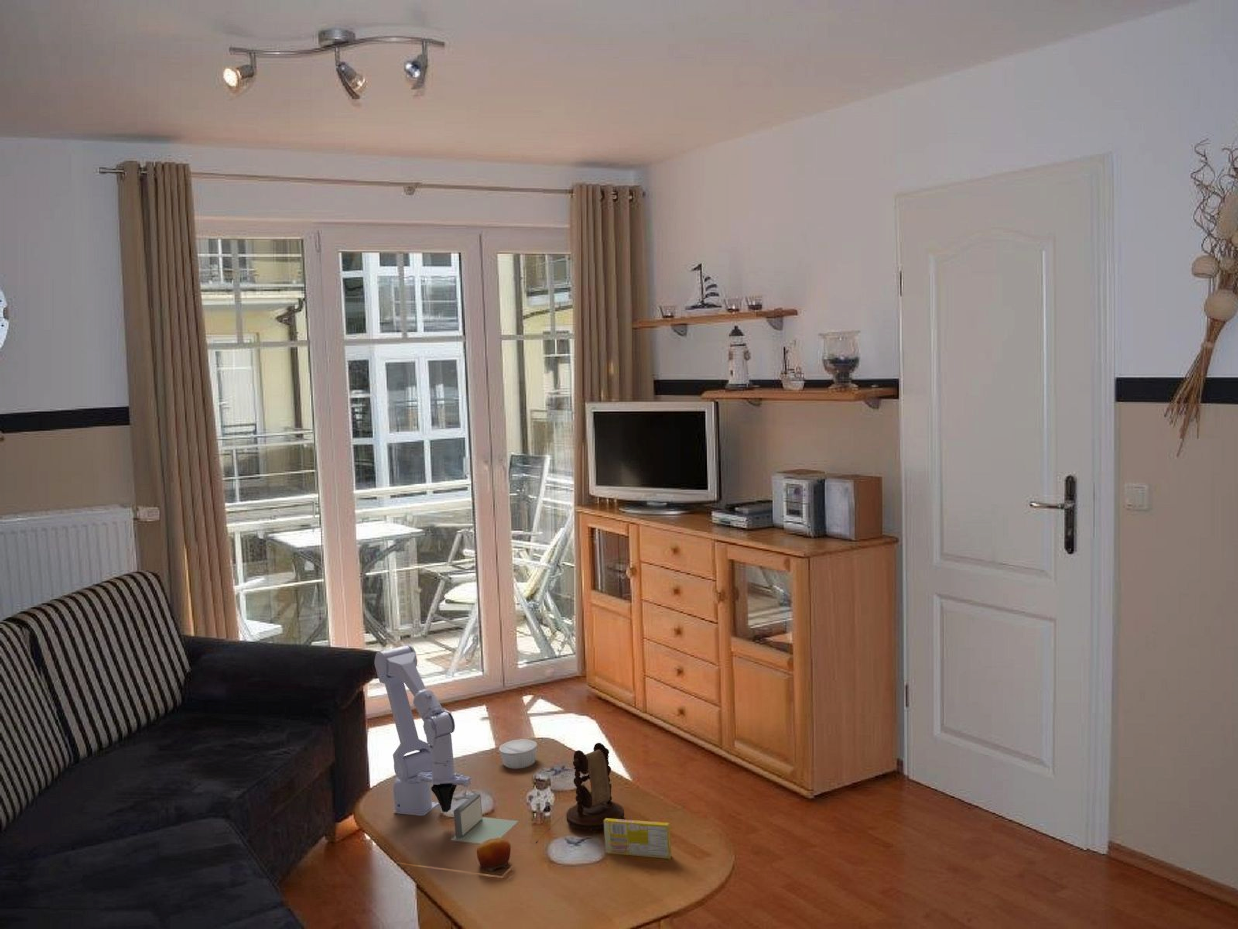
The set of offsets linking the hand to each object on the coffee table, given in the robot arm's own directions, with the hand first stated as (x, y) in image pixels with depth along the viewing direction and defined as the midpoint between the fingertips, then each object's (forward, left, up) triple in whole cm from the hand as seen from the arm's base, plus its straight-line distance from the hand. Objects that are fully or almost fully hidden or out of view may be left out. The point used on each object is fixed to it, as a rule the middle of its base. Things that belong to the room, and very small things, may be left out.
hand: (446, 810), depth 292 cm
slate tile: (+6, 0, -4) cm, 8 cm away
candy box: (+53, -2, -5) cm, 54 cm away
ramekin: (-2, +44, -5) cm, 44 cm away
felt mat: (+11, 0, -5) cm, 12 cm away
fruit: (+22, -16, -5) cm, 28 cm away
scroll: (+36, +12, -5) cm, 39 cm away
